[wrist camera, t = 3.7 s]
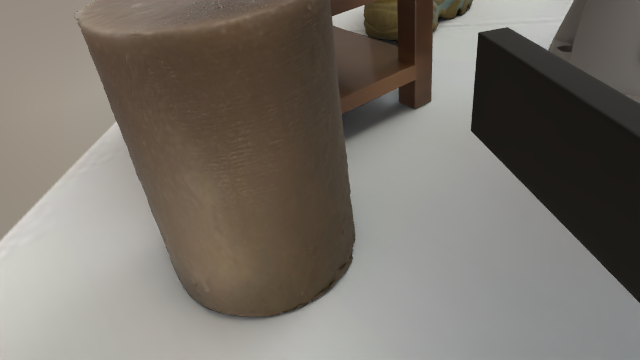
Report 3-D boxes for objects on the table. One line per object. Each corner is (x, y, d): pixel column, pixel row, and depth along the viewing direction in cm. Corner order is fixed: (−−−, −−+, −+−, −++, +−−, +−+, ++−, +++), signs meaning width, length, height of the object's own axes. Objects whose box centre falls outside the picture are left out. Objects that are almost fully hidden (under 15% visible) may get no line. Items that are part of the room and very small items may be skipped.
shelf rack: (316, 55, 49) (302, -62, 43) (431, 101, 39) (434, -45, 33) (187, 105, 43) (149, -23, 37) (283, 176, 33) (252, 13, 26)
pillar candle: (387, 275, 25) (373, -54, 16) (191, 351, 22) (49, 11, 14) (315, 176, 32) (280, -83, 23) (164, 224, 30) (62, -45, 21)
